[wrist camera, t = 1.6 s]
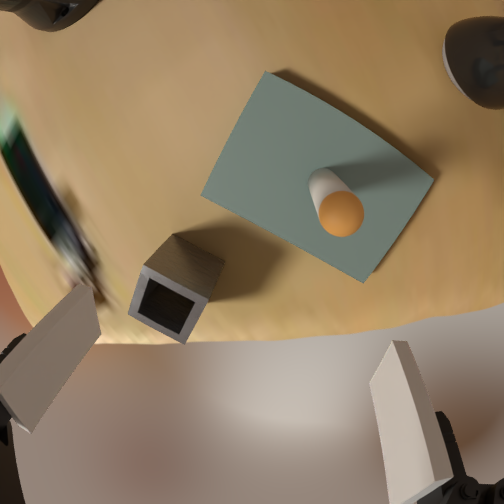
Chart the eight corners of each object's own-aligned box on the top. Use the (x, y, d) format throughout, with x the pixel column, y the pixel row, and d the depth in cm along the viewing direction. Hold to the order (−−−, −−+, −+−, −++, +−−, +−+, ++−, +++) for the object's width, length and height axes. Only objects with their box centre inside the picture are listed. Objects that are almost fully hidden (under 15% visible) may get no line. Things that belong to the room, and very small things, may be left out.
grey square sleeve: (155, 278, 36) (127, 314, 29) (172, 233, 33) (143, 264, 26) (202, 303, 37) (184, 344, 30) (225, 261, 34) (208, 299, 27)
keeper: (205, 191, 31) (153, 237, 19) (266, 74, 25) (250, 35, 13) (359, 274, 33) (390, 354, 21) (426, 176, 27) (499, 213, 15)
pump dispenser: (495, 49, 18) (577, 38, 4) (492, 121, 23) (582, 138, 9) (430, 13, 19) (504, -30, 5) (426, 89, 23) (517, 78, 9)
